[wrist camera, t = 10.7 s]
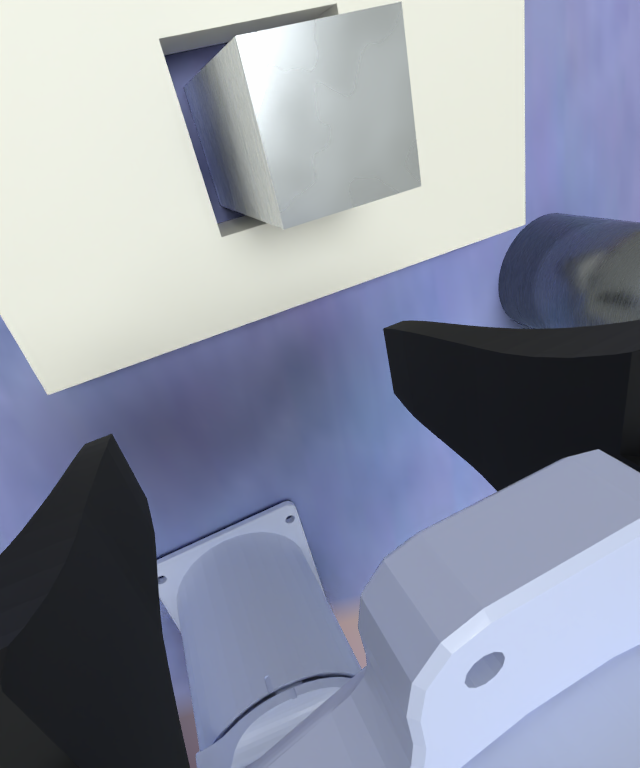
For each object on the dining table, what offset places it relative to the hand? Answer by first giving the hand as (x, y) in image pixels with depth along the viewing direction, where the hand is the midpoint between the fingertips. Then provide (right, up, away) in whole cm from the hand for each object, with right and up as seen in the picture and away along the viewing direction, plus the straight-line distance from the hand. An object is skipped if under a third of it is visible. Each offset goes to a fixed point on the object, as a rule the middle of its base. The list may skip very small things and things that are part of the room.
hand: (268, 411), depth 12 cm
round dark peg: (+14, +7, +14) cm, 21 cm away
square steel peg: (-1, +10, +6) cm, 12 cm away
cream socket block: (-1, +10, +6) cm, 12 cm away
